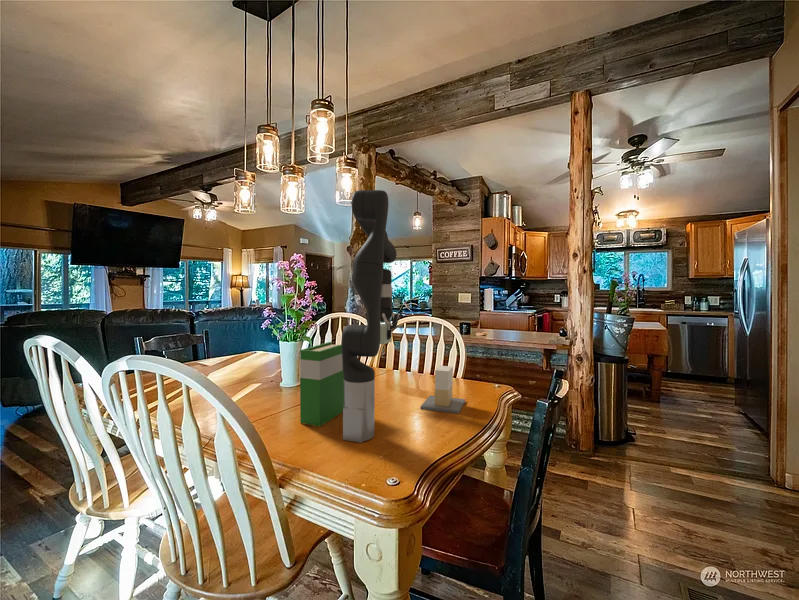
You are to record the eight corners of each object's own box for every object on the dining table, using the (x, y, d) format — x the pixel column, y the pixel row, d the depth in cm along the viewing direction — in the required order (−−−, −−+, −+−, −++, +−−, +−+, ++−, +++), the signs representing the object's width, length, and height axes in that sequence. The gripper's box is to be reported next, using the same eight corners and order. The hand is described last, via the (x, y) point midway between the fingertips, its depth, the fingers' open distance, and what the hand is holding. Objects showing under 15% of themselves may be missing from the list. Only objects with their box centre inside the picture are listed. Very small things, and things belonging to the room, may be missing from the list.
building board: (458, 413, 130) (459, 394, 129) (420, 409, 134) (420, 390, 134) (465, 401, 143) (465, 383, 143) (430, 397, 148) (430, 380, 147)
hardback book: (329, 406, 136) (329, 342, 135) (347, 409, 134) (347, 343, 132) (300, 423, 120) (300, 350, 119) (319, 426, 117) (319, 351, 116)
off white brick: (448, 390, 134) (448, 371, 133) (435, 389, 135) (435, 370, 135) (452, 384, 141) (452, 366, 141) (439, 383, 143) (440, 365, 143)
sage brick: (384, 344, 141) (384, 326, 141) (372, 343, 143) (372, 325, 143) (391, 341, 149) (391, 324, 148) (380, 340, 150) (380, 323, 150)
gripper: (361, 295, 144) (361, 339, 144) (396, 296, 139) (396, 341, 140) (369, 295, 151) (369, 336, 152) (402, 296, 146) (402, 338, 147)
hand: (382, 338), depth 146 cm, fingers closed on sage brick, 5 cm apart
